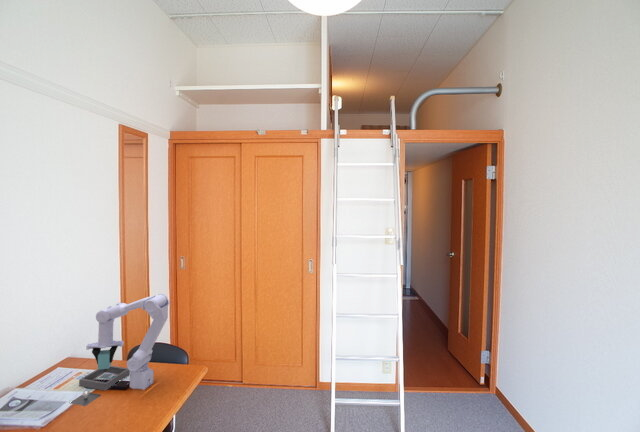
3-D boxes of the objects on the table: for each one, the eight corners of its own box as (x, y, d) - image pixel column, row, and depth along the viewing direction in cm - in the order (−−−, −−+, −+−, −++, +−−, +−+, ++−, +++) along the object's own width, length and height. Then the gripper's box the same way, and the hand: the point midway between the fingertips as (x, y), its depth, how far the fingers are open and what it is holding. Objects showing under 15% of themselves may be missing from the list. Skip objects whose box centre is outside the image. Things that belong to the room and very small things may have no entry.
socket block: (111, 363, 151) (111, 349, 150) (108, 368, 147) (109, 354, 146) (100, 364, 149) (100, 350, 149) (97, 369, 145) (98, 355, 145)
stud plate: (101, 397, 138) (102, 387, 138) (85, 408, 130) (85, 398, 130) (86, 394, 139) (86, 384, 139) (68, 405, 131) (69, 395, 131)
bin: (129, 376, 155) (129, 368, 155) (105, 392, 141) (105, 384, 141) (105, 372, 157) (105, 364, 157) (79, 388, 143) (79, 379, 143)
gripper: (84, 339, 141) (83, 368, 142) (121, 335, 146) (120, 364, 147) (89, 332, 148) (88, 361, 148) (125, 330, 153) (124, 357, 153)
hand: (104, 362), depth 148 cm, fingers closed on socket block, 4 cm apart
